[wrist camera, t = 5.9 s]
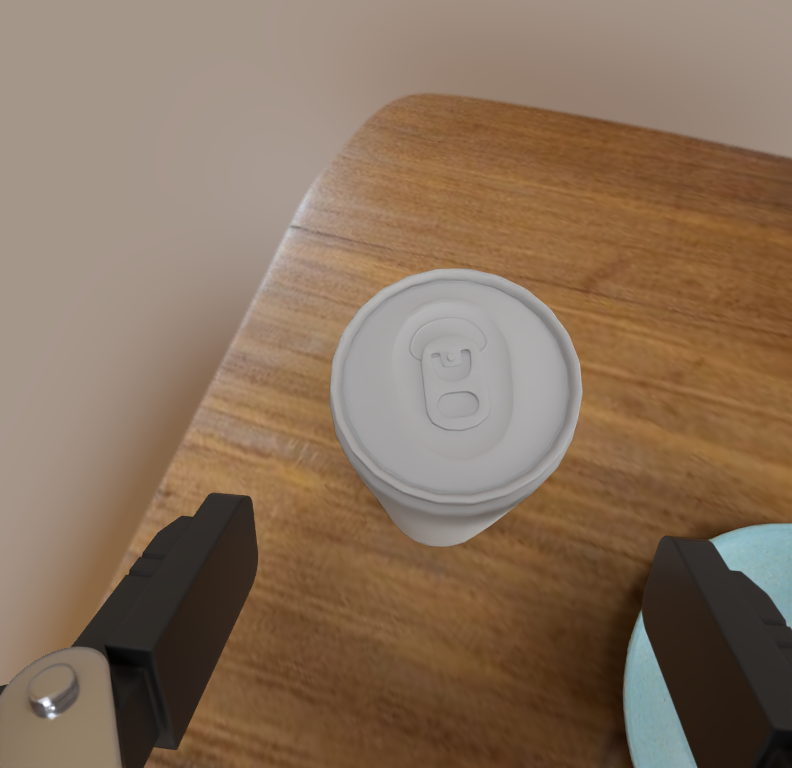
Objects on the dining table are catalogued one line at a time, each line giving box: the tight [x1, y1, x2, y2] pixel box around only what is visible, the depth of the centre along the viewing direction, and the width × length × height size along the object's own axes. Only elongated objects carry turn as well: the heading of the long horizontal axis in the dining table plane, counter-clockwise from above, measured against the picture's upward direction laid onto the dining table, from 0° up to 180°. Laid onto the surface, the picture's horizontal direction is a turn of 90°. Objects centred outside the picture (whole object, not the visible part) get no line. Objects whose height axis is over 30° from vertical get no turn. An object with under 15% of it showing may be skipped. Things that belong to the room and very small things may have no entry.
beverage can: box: [330, 269, 583, 547], centre depth 15 cm, size 5×5×12 cm
